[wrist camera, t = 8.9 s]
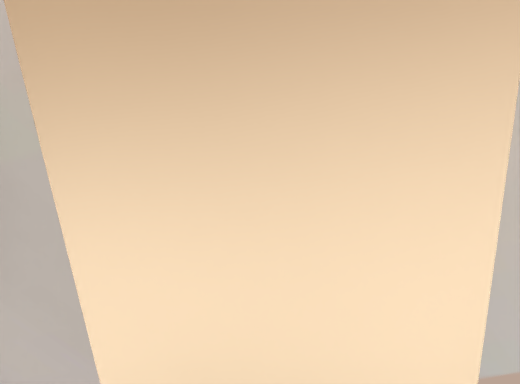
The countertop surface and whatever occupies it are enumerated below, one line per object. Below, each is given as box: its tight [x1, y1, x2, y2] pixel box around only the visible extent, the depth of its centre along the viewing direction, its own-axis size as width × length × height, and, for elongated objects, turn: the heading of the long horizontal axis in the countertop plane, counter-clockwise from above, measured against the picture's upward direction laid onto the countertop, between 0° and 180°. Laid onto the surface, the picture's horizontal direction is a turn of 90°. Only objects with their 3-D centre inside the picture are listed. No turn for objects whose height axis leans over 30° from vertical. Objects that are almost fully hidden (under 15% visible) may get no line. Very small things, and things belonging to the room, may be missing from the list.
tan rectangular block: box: [4, 0, 520, 384], centre depth 7 cm, size 14×4×6 cm, turn 4°
